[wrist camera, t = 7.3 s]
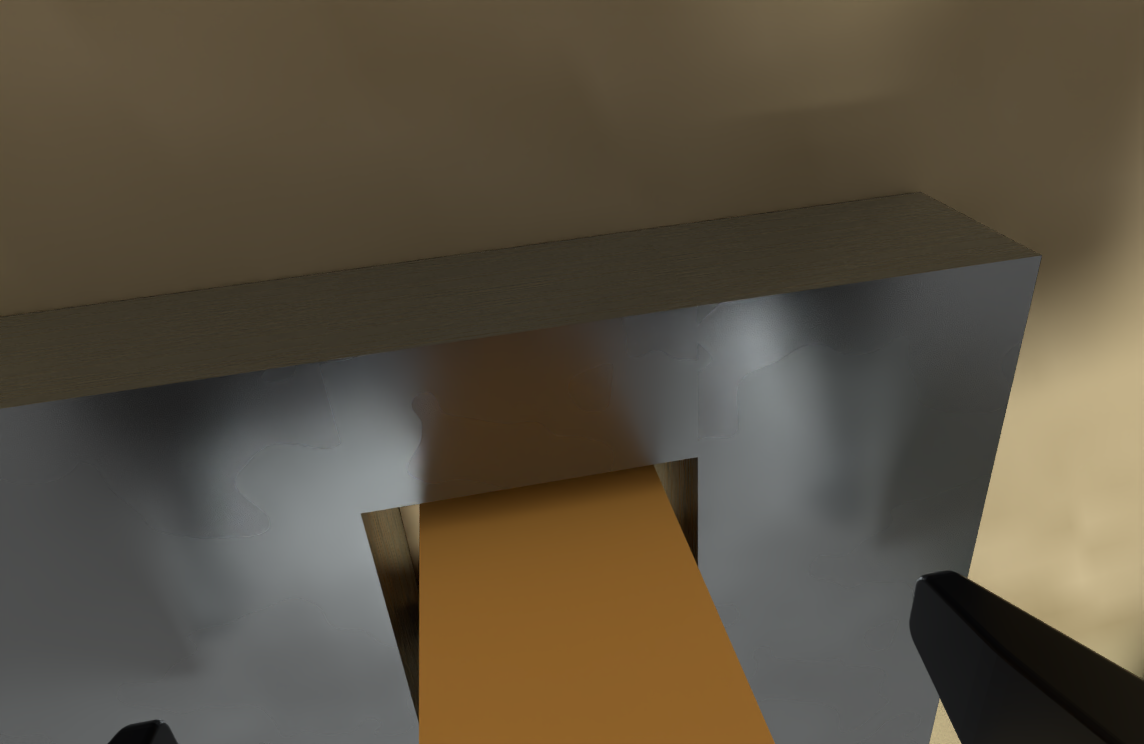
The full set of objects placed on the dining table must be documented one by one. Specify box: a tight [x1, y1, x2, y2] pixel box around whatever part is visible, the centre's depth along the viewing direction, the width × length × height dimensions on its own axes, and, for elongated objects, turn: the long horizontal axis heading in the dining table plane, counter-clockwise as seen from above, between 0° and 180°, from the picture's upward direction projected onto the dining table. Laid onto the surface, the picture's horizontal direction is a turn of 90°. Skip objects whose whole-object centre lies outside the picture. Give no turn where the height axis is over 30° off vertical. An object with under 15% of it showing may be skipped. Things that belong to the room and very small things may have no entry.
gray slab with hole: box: [0, 192, 1042, 744], centre depth 12 cm, size 14×12×2 cm
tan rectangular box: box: [419, 465, 775, 744], centre depth 9 cm, size 3×3×8 cm
